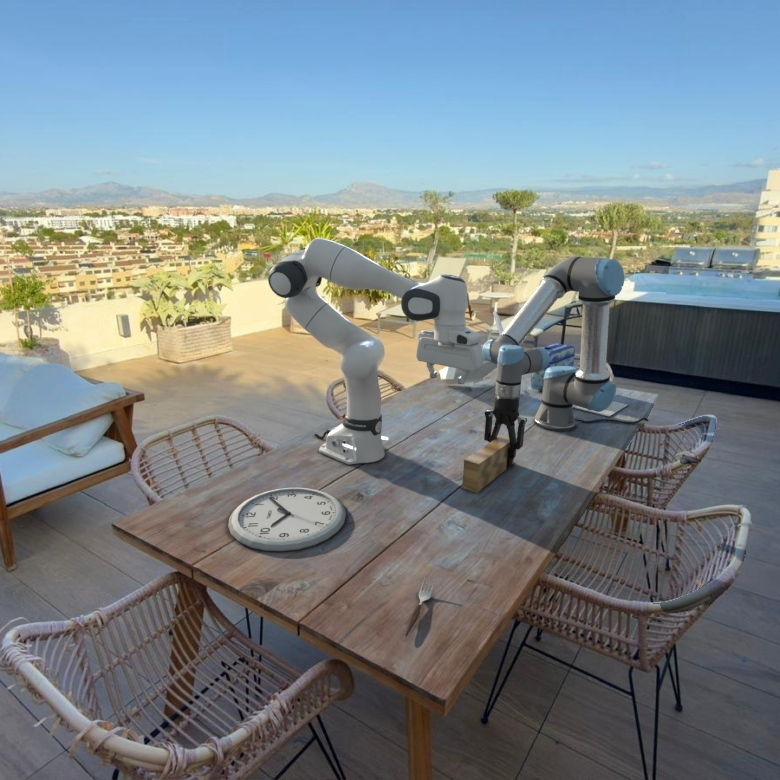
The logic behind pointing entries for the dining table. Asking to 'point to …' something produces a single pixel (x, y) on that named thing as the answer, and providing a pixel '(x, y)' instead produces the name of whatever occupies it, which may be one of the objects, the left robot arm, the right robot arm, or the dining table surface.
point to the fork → (423, 597)
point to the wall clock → (287, 519)
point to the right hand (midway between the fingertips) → (501, 464)
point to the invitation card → (609, 411)
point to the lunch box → (554, 362)
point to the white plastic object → (452, 374)
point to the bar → (486, 464)
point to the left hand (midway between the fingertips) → (447, 380)
